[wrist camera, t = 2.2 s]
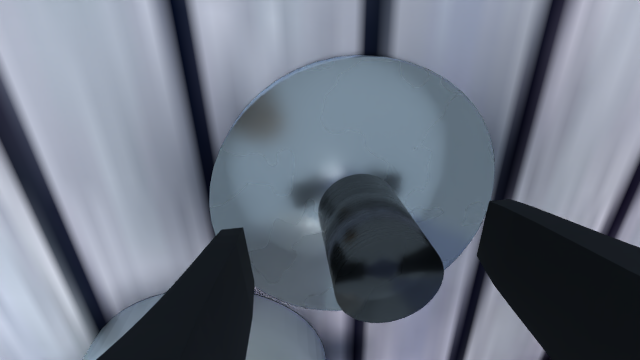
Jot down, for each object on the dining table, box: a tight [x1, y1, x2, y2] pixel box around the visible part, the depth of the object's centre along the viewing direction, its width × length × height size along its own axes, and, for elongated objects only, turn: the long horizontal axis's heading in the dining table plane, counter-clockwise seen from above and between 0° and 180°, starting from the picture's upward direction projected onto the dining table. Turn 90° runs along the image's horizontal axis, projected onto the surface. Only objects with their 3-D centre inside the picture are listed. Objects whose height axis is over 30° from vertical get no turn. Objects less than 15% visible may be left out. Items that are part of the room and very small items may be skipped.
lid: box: [209, 55, 495, 323], centre depth 10 cm, size 10×10×4 cm
